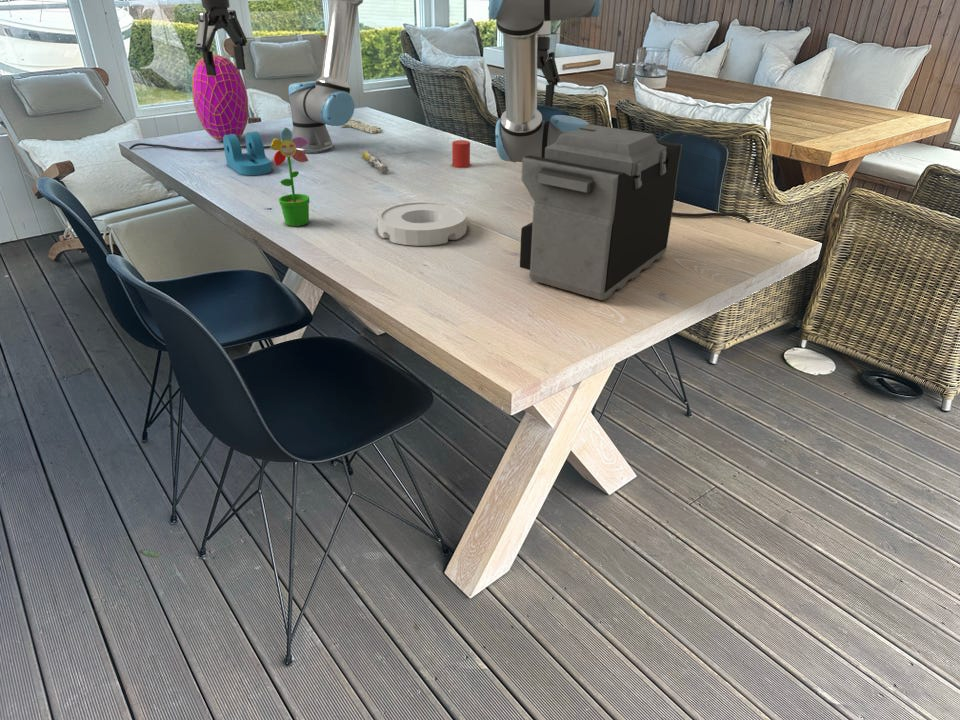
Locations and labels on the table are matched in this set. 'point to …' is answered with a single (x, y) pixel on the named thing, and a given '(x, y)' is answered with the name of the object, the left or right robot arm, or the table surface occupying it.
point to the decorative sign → (362, 126)
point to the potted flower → (291, 178)
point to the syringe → (375, 161)
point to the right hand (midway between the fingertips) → (534, 108)
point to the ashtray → (422, 223)
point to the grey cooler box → (598, 208)
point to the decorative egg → (220, 98)
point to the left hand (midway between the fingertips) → (226, 72)
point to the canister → (461, 153)
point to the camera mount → (246, 154)
